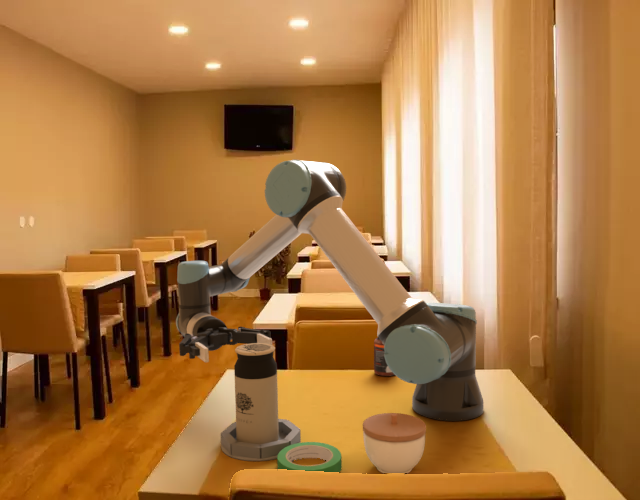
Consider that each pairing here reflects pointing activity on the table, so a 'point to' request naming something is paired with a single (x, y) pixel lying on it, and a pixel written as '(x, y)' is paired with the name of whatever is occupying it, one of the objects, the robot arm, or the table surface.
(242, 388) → the travel mug
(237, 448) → the socket ring
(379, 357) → the supplement bottle
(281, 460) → the tape roll
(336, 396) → the table surface
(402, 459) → the lidded jar
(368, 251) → the robot arm
